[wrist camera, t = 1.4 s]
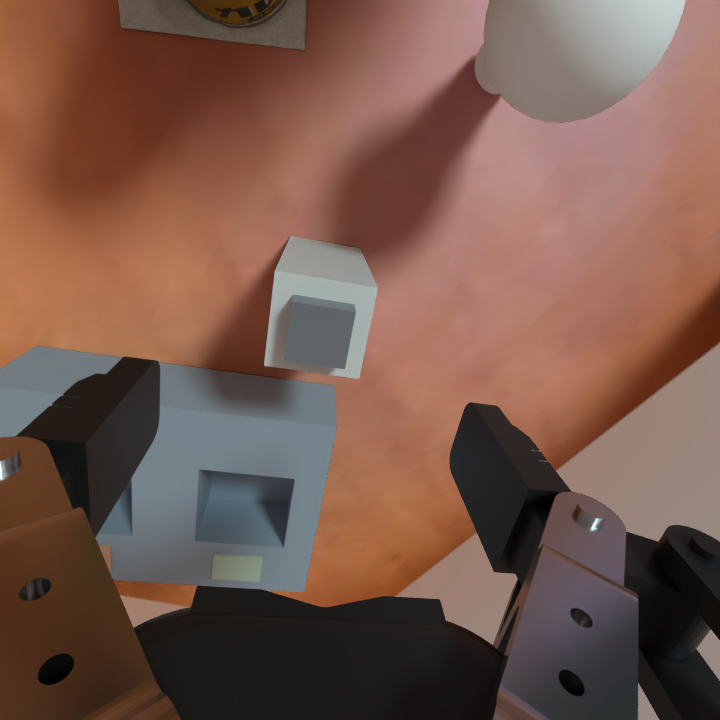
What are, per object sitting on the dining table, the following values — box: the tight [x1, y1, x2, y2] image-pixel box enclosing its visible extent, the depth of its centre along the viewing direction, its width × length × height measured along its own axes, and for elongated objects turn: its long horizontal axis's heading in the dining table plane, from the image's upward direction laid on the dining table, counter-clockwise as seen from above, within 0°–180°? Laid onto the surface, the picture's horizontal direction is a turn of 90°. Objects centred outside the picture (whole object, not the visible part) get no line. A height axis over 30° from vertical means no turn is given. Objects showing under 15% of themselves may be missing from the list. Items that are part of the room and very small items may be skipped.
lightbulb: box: [475, 0, 686, 123], centre depth 17 cm, size 6×6×11 cm
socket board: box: [0, 346, 337, 592], centre depth 28 cm, size 18×13×5 cm
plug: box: [264, 236, 378, 379], centre depth 21 cm, size 4×4×10 cm
